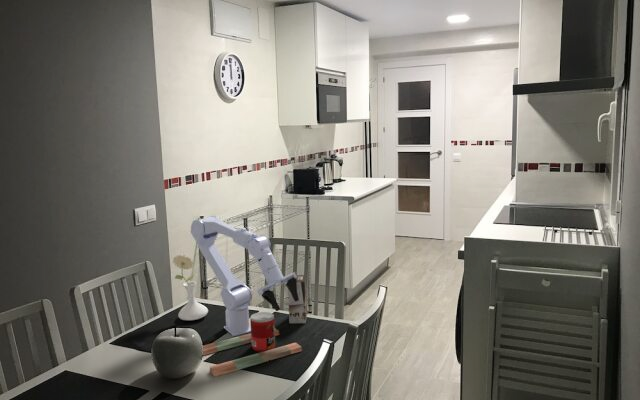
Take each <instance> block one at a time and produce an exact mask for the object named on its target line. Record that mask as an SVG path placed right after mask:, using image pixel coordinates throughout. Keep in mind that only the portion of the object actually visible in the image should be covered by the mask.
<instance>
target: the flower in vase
mask: <svg viewBox="0 0 640 400" xmlns="http://www.w3.org/2000/svg"><path fill="white" fill-rule="evenodd" d="M172 259H173V260H172V263H173V264H174V265H175V266H176V267H177V268H179V269H181V274H176V275H175V277H174V279H175V280H176V279H177V280H184V281H185V282H184V283H183V284H182V286H183V287H184V288H185V290H186V293H187V299H188V301H187V303H186V304H185V305H184V306H183V307H182V308H181V309H180V310H179V311H178V315H177V317H178V318H179V319H180V320H182V321H195V320H200V319H202V318H203V317H205V316H207V315H208V313H209V309H208V308H207V307H206V306H205V305H203V304H201V303H200V302H197V300H196V299H195V285H196V284H197V281H193V280H192V279H193V278H194V277H195V274H193V275H191V276H189V277H188V278H187V279H186V278H185V277H184V275H183V270H190V269H193V267H194V260H192V258H191V257H190V258H189V256H186V255H180V254H179V255H176V256H174V257H173V258H172Z"/></svg>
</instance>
